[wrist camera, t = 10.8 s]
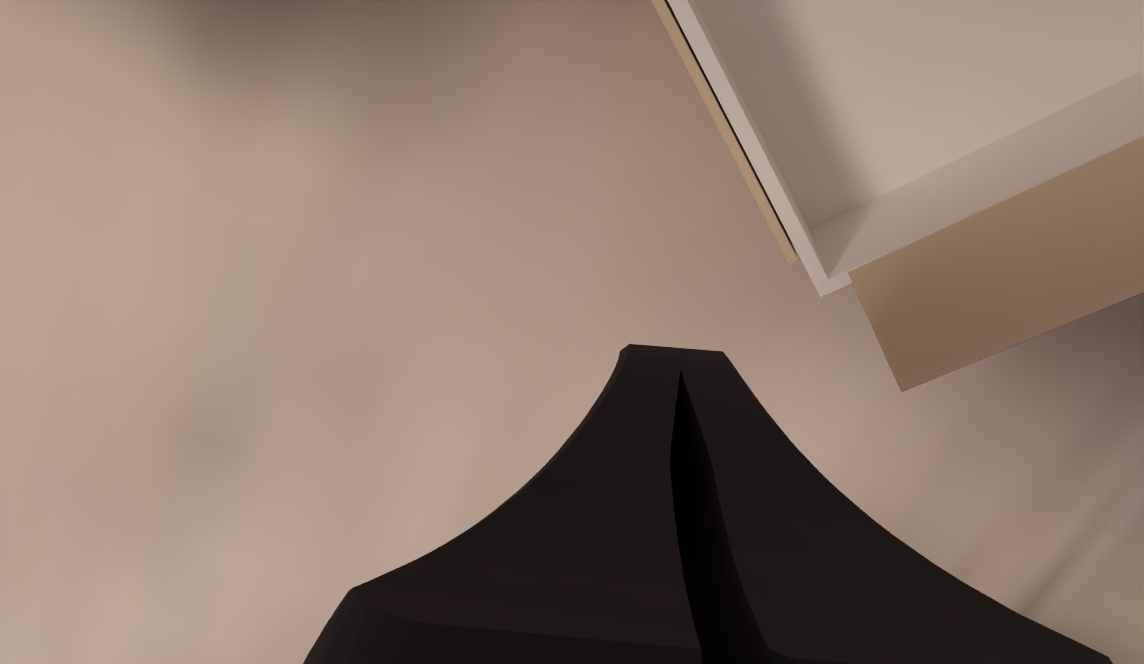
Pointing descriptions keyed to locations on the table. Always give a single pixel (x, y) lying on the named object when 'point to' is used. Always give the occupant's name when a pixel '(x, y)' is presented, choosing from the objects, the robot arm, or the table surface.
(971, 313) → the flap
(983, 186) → the carton
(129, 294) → the table surface
